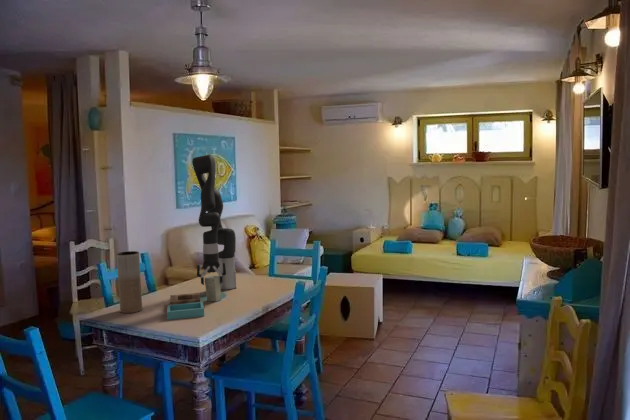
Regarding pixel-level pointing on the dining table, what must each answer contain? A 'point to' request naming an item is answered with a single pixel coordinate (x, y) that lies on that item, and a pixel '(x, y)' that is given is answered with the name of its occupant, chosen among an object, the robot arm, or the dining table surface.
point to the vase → (129, 281)
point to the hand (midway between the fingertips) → (211, 284)
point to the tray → (185, 310)
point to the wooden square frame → (184, 298)
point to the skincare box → (213, 288)
